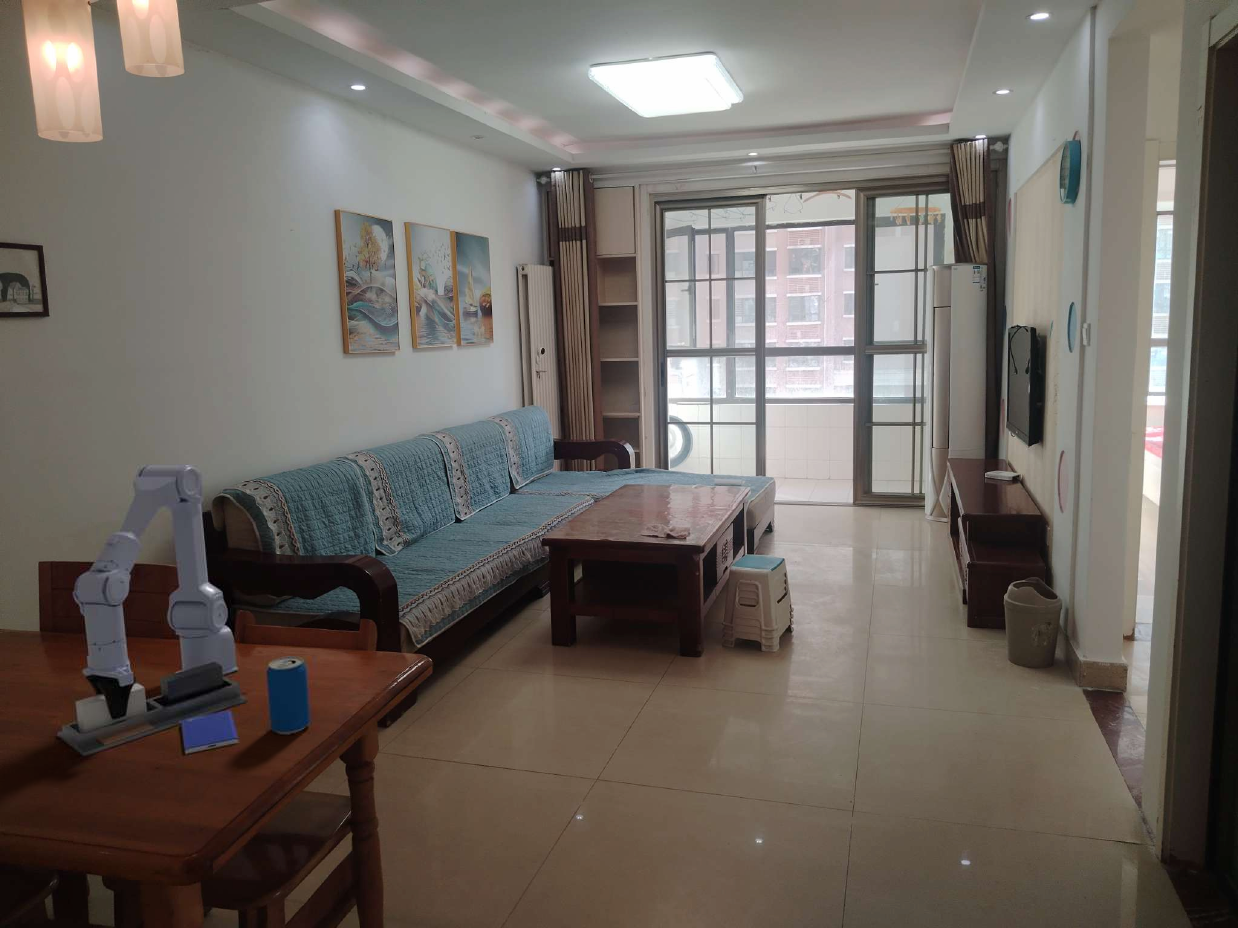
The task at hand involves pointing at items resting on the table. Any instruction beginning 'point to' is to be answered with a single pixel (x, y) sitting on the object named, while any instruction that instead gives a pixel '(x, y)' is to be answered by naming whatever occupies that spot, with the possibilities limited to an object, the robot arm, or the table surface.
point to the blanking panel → (96, 710)
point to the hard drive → (208, 731)
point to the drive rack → (163, 709)
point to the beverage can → (288, 695)
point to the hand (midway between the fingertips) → (114, 714)
